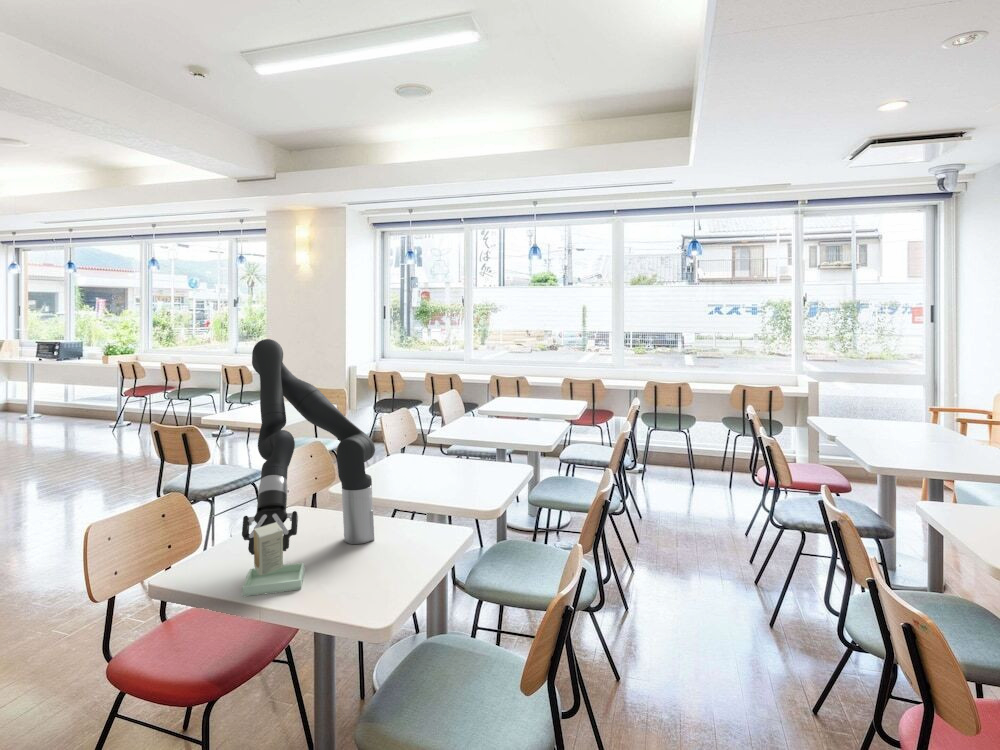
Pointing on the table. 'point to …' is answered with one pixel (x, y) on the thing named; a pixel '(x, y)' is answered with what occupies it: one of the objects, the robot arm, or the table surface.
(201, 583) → the table surface
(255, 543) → the skincare box
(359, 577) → the table surface
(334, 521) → the table surface
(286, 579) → the tray
